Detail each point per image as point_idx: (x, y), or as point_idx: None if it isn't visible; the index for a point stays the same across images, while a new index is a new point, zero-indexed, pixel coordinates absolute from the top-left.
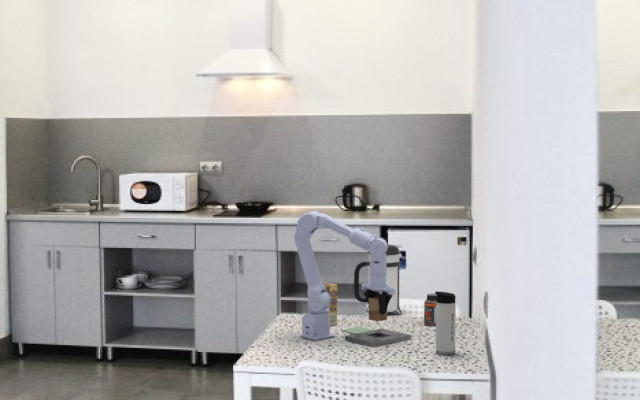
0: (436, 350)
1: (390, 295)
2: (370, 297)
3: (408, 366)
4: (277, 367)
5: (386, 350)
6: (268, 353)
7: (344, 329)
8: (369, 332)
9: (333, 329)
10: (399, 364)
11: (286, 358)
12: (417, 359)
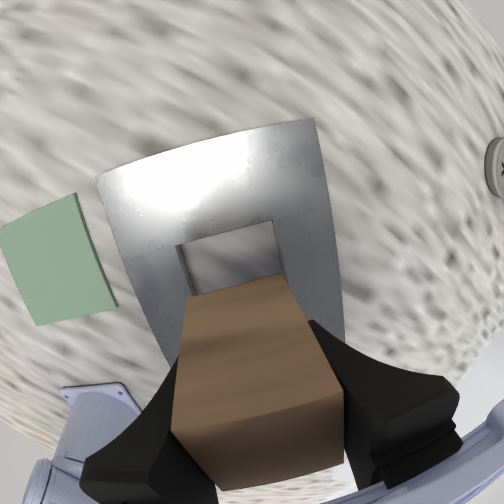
0: (500, 197)
1: (445, 408)
2: (209, 483)
3: (499, 323)
4: (341, 491)
5: (397, 316)
6: (247, 499)
7: (28, 309)
8: (157, 284)
9: (13, 328)
10: (483, 335)
11: (301, 488)
12: (493, 279)
